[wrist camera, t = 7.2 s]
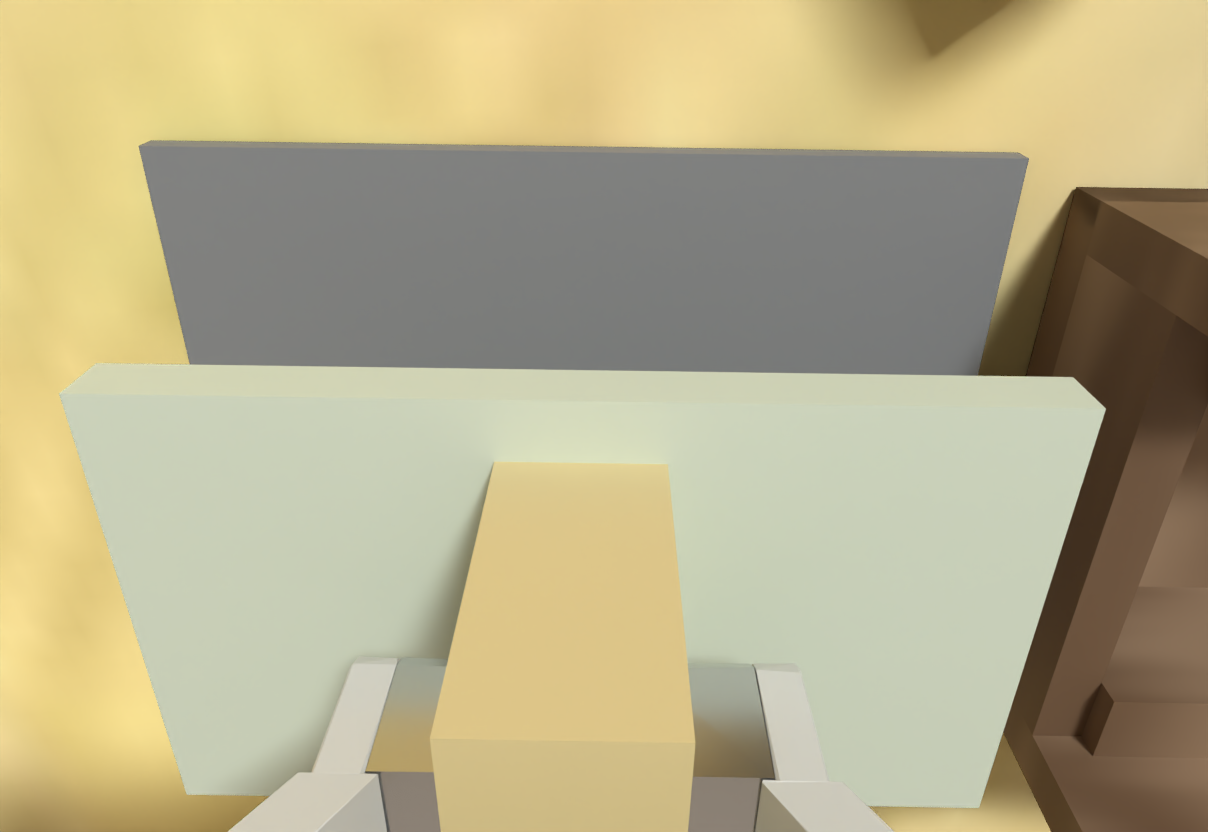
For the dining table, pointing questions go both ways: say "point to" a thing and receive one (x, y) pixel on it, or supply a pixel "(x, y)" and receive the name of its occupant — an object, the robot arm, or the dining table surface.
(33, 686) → the dining table surface
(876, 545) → the lid
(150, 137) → the dining table surface
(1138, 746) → the box
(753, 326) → the mat
